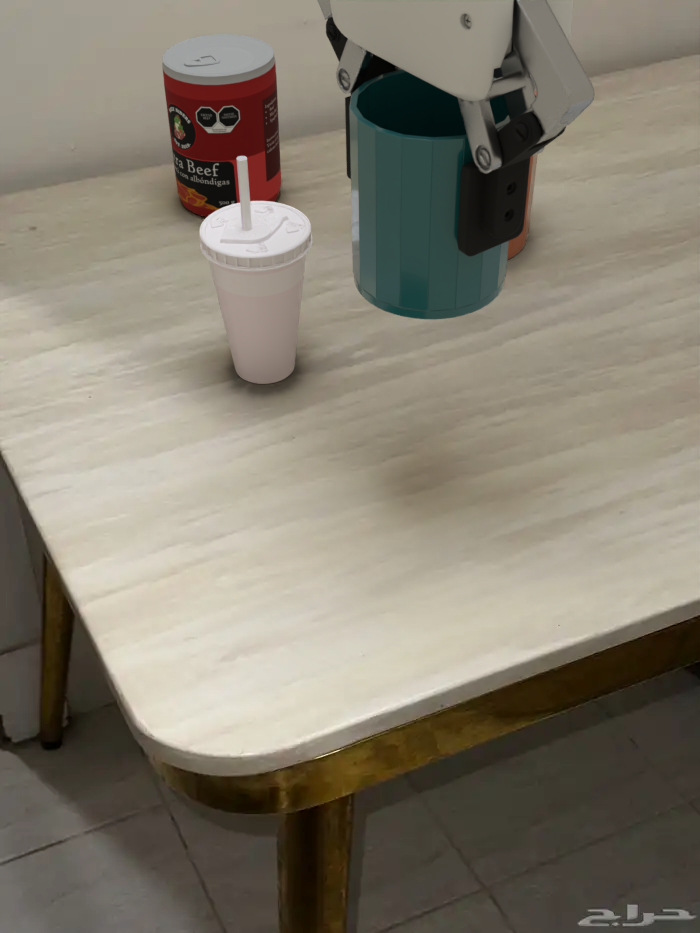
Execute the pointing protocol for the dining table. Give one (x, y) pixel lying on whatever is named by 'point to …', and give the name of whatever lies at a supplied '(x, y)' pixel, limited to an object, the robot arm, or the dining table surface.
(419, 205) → the teal cup
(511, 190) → the robot arm
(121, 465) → the dining table surface
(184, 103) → the canned food
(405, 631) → the dining table surface
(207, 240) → the smoothie
